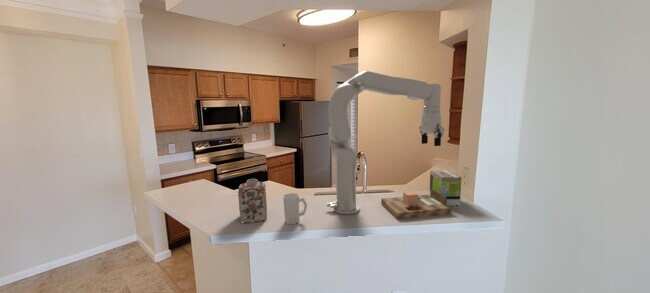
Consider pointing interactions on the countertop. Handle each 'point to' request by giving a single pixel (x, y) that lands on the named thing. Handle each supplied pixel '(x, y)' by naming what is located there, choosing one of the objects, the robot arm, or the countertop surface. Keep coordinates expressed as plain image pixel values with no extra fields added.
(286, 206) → the mug
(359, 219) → the countertop surface
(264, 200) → the decorative jar
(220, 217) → the countertop surface
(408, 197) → the block
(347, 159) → the robot arm
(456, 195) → the tea box
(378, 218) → the countertop surface
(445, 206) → the board
